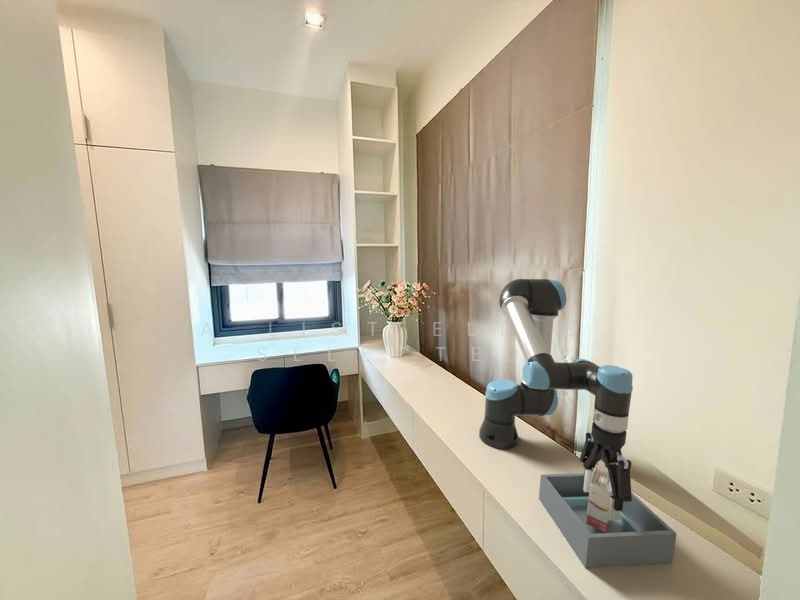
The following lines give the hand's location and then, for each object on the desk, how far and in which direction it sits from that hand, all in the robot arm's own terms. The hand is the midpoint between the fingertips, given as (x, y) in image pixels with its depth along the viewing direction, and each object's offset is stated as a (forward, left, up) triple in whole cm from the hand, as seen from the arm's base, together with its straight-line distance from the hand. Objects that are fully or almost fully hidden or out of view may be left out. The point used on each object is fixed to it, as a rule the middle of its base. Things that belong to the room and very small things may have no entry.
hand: (600, 504), depth 87 cm
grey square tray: (0, 0, -7) cm, 7 cm away
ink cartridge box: (0, 0, -5) cm, 5 cm away
